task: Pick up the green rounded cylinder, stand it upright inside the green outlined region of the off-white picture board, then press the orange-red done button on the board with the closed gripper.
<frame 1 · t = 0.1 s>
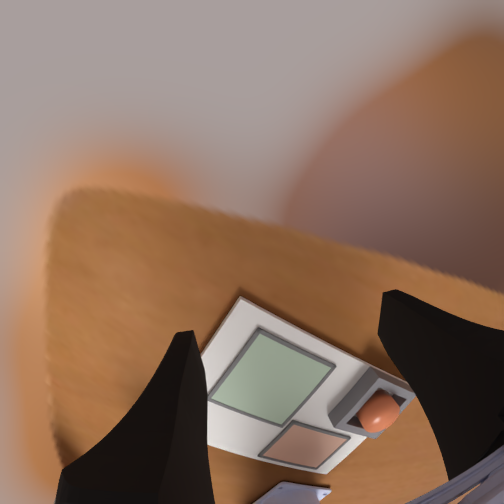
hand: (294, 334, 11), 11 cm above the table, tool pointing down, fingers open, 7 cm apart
done button: (377, 411, 24), point 2 cm above the table, slide at 0.0 cm
picture board: (293, 409, 25), on the table
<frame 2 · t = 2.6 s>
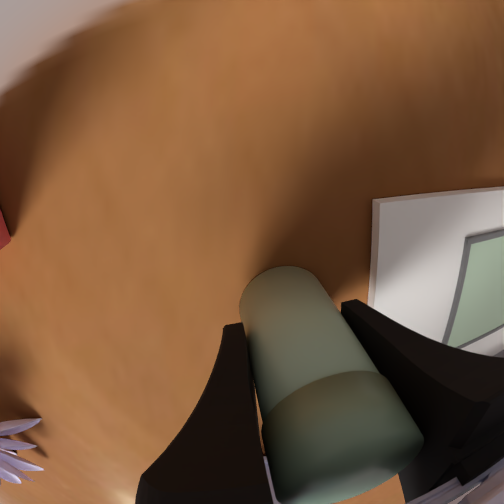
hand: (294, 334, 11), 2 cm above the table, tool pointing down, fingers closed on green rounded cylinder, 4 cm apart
green rounded cylinder: (282, 304, 13), on the table, touching gripper
picture board: (452, 343, 16), on the table
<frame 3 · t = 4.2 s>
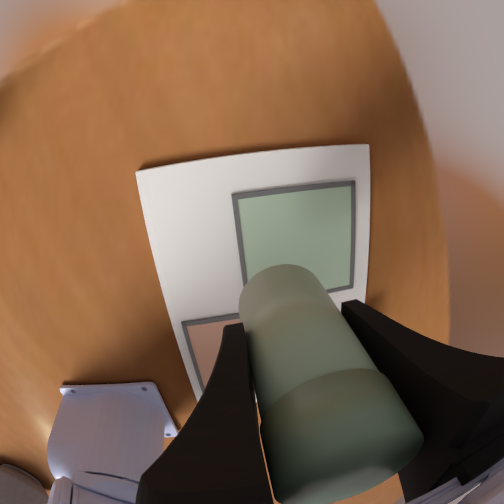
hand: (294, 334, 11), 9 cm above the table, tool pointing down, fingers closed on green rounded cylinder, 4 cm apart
green rounded cylinder: (281, 303, 13), point 7 cm above the table, touching gripper
picture board: (271, 299, 22), on the table
coffee pot: (39, 488, 32), on the table
when the fingers open (4 cm above the table, at t = 5.9 s): green rounded cylinder stays where it is, resting on picture board.
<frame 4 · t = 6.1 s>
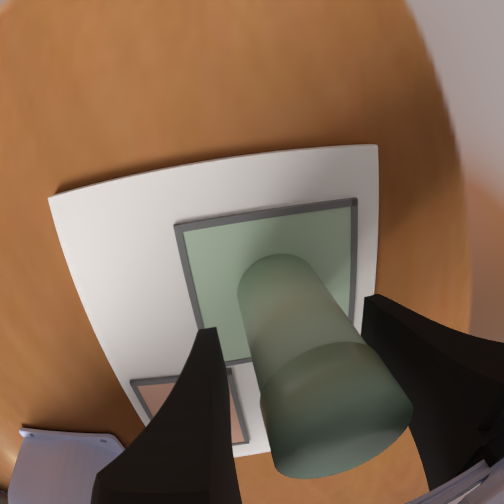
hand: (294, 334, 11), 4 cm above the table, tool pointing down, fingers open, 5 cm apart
green rounded cylinder: (278, 291, 14), point 1 cm above the table, touching picture board
picture board: (242, 355, 16), on the table
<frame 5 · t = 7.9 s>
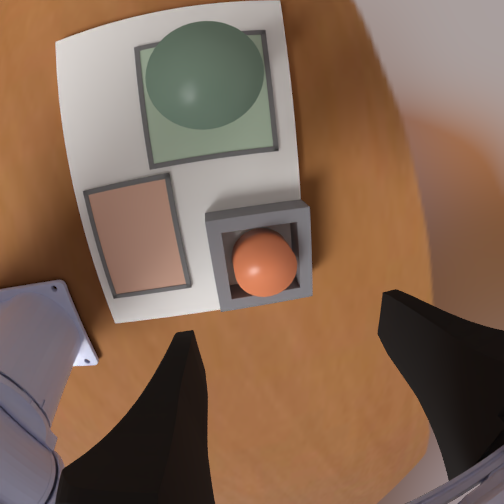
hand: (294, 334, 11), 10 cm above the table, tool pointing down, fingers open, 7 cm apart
done button: (263, 262, 19), point 2 cm above the table, slide at 0.0 cm
green rounded cylinder: (206, 93, 16), point 1 cm above the table, touching picture board
picture board: (181, 165, 18), on the table
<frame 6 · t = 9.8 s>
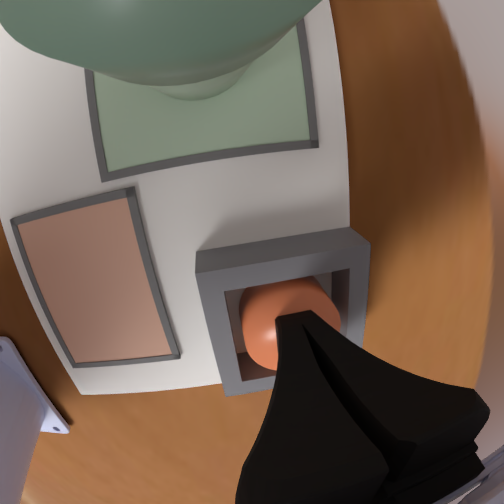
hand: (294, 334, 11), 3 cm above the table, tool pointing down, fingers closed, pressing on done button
done button: (288, 319, 12), point 2 cm above the table, slide at 0.7 cm, touching gripper
green rounded cylinder: (195, 49, 8), point 1 cm above the table, touching picture board
picture board: (155, 173, 11), on the table
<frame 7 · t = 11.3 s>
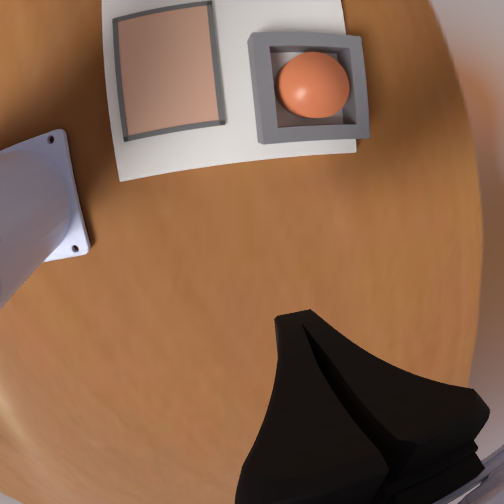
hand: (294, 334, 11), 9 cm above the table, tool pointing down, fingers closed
done button: (311, 86, 15), point 2 cm above the table, slide at 0.7 cm
picture board: (223, 1, 13), on the table
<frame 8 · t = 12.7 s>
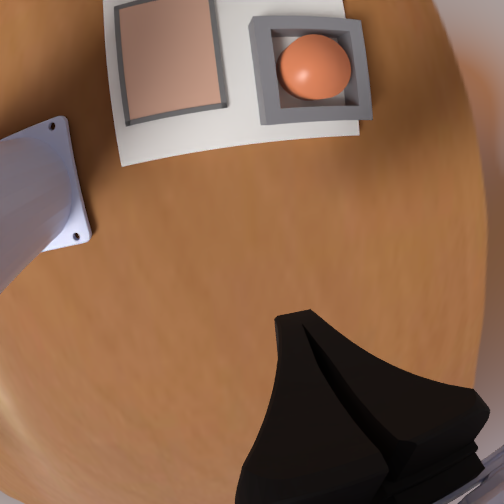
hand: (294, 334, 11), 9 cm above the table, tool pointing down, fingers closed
done button: (312, 68, 14), point 2 cm above the table, slide at 0.7 cm
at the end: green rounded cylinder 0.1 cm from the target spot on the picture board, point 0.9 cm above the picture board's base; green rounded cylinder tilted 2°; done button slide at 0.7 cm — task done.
